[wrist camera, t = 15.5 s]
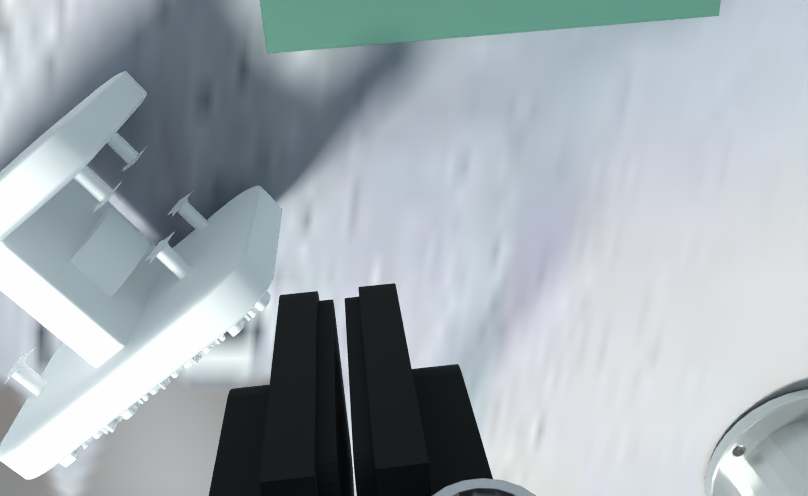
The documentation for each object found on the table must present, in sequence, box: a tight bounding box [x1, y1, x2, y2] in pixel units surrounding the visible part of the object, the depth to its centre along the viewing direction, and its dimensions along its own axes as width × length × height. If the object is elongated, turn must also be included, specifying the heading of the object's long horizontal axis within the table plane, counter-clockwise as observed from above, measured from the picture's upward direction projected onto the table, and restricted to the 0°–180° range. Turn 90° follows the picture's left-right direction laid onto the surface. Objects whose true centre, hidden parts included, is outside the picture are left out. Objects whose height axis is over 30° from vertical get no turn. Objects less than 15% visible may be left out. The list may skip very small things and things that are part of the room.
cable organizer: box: [0, 71, 282, 479], centre depth 35 cm, size 15×11×12 cm
